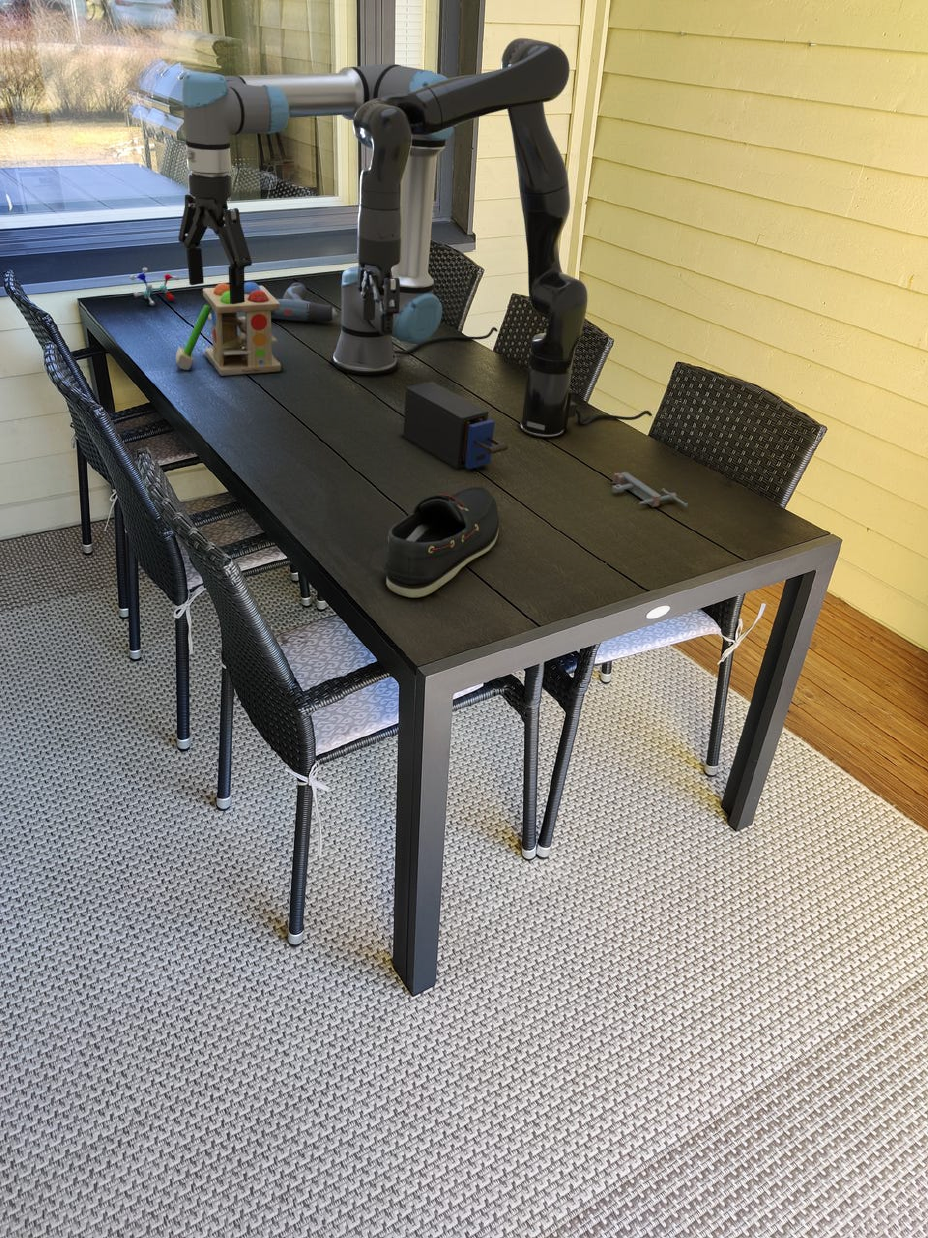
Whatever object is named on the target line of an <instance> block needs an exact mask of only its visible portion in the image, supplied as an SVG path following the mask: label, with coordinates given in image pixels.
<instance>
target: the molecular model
mask: <svg viewBox="0 0 928 1238" xmlns="http://www.w3.org/2000/svg"><path fill="white" fill-rule="evenodd" d="M146 273H148V268H147V267H143V268H142V273H139V275H135V274H134V275H133V274H132V275H130V276H129V278H130V280H132V281H134V280H136V279H139V280H140V281H142V282H143V284H144V285H145V290H143V292H137V291H135V292H134V293H133V296H134V297H135V298H138V297H139V296H140V297H141V296H143V298H144V299H145V300H148V301H149V305H150V306H151V307H152V306H154V305H155V301H153V300H152V298H151V297H150V296H151V294H152V293H153V292H154V291H161V292H163V293H164V294H165V295H166V297H167V299H168V301H170V302H171V301H174V300H175V296H174V295H173V294H171V293H170V291H169V290H168V287H167V283H168V281H170V280H171V279H172V280H175V281H179V280H180V276H179V275H170V274H169V273H165V275H164V283H163V284H161V285H160V286H159V287H153V285H152V284H150V283H149V284H148V282H147V281H146Z"/></svg>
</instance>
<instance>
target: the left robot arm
mask: <svg viewBox="0 0 928 1238" xmlns="http://www.w3.org/2000/svg"><path fill="white" fill-rule="evenodd" d="M446 79H448V78H447V76H444V75H442V74H440V73H436V72H434V71H432V70H429V69H422V68H417V67H412V66H411V67H410V66H405V65H401V64H396V63H380V64H372V65H371V64H370V65H359V66H345V67H342V68H341V69H339V70H338V72H331V73H330V72H328V73H293V74H292V73H291V74H287V73H285V74H283V73H282V74H249V75H247V74H246V75H245V74H244V75H222V74H220V73H213V72H199V71H198V72H197V71H195V72H193V71H192V72H187V73H185V74H184V76H183V77H182V80H181V84H182V85H181V105H182V111H183V113H182V114H183V123H184V125H183V126H184V134H185V135H184V138H185V145H186V147H185V148H186V155H185V157H186V161H187V162H186V164H187V169H188V170H189V171H190V172H189V173H188V174H187V181H188V182H187V183H188V193H189V194H185V195H184V207H183V213H182V217H181V223H180V228H179V233H178V238H177V239H178V242H179V243H182V244H183V246H184V248H185V249H186V258H187V259H186V262H187V270H188V283H189V285H190V286H195V285H196V286H197V285H203V284H205V280H204V268H203V252H202V251H203V250H202V248H201V247H202V245H201V242H202V239H203V238H204V235H205V233H206V230H207V229H208V228H209V229H210V230H212V232H213V233H214V235H217V237H218V239H219V241H220V243H221V245H222V248H223V250H224V253H225V255H226V257H227V260H228V261H229V266H227V267H228V285H229V289H230V303H231V304H237V303H243V302H245V294H244V284H245V283H246V282H245V279H246V278H245V268H247V267H251V266H252V265H253V261H252V258H251V255H250V250H249V248H248V244H247V241H246V237H245V234H244V230H243V227H242V224H241V223H242V222H241V217H240V216H241V215H240V211H239V208H238V207H233V208H229V205H228V199H230V198H231V197H232V195H233V185H232V184H233V181H232V175H230V172H231V171H232V160H231V159H232V158H231V140H230V139H231V138H230V137H231V136H235V135H258V134H259V135H261V134H266V135H270V134H275V133H280V132H282V131H284V130H285V129H286V128H287V126H288V123H289V120H290V119H291V118H292V119H293V118H312V117H313V118H314V117H329V116H332V117H333V116H342V117H343V119H346V120H348V121H353V120H354V116H355V114H356V112H357V111H358V109H359V108H360V107H361V106H362V105H363V104H365V103H366V102H368V101H370V100H373V99H376V98H380V97H385V96H390V95H395V94H402V93H409V92H413V91H416V90H418V89H420V88H423V87H425V86H428V85H431V84H434V83H437V82H440V81H443V80H446ZM457 127H458V125H456V126H453V127H451V128H448V129H445V130H443V131H440V132H437V133H434V134H431V135H427V136H420V135H412V143H411V149H410V153H409V157H408V161H407V165H406V169H405V172H404V176H403V179H402V195H401V215H402V236H401V260H400V263H399V264H397V265H394V266H393V267H392V269H391V270H392V276H393V278H399V280H400V305H399V313H397V314H393V332H392V334H391V335H385V336H383V335H381V334H380V314H381V313H380V309H379V304H378V303H377V302H376V301H375V319H374V320H367V321H366V320H364V319H363V298H362V297H361V292H358V289H357V288H358V265H355V266H351V267H348V268H346V269H345V270H344V271H343V273H342V277H341V278H342V279H341V285H340V288H341V290H340V291H341V293H340V294H341V295H340V296H341V307H340V308H341V310H340V311H341V313H340V314H341V316H340V317H341V319H340V321H341V324H340V325H341V326H340V329H341V330H340V336H339V338H338V341H337V343H336V344H335V347H334V349H335V350H334V352H333V354H332V355H333V361H332V362H333V363H332V364H333V366H334V367H335V368H337V369H338V370H339V371H342V372H344V373H347V374H352V375H356V376H380V375H381V376H382V375H386V374H389V373H391V372H393V371H395V369H396V368H397V361H398V359H397V354H398V355H407V354H410V353H412V352H414V351H415V350H417V349H418V348H420V347H422V346H425V345H428V344H431V343H434V342H437V341H438V342H439V341H445V340H472V341H473V340H478V341H479V340H485V339H488V338H489V337H491V336H492V335H493V333H495V332H496V333H497V332H499V330H498V329H497V328H496V327H495V326H492V327H491V329H490V331H489V332H488V333H487V334H486V335H481V336H480V335H479V336H466V335H447V336H439V337H434V338H431V337H432V336H433V334H434V333H435V332H436V331H437V329H438V327H439V326H440V323H441V321H442V317H443V305H442V302H441V301H440V299H439V298H438V297H437V296H436V294H434V287H435V280H434V279H433V277H432V276H431V275H430V273H429V263H430V251H431V250H430V249H431V239H432V225H433V213H434V199H435V185H436V173H437V161H438V155H439V154H440V153H441V152H442V151H443V150H444V149H446V139H448V138H449V137H451V136H452V134H453V133H454V131H455V130H454V129H456V128H457ZM362 282H363V281H362ZM383 296H384V295H383ZM373 299H375V298H373ZM393 301H394V300H393ZM383 304H384V302H383ZM389 307H390V306H389ZM392 337H393V338H395V339H397V340H398V341H400V342H404V343H405V342H406V343H408V344H412V345H414V346H413V347H411V348H410V349H407V350H395V347H394V343H393V341H392Z"/></svg>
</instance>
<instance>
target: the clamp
mask: <svg viewBox="0 0 928 1238" xmlns="http://www.w3.org/2000/svg"><path fill="white" fill-rule="evenodd" d="M612 477H613V478H612V482H611V484H615V485H612V486H611V491H612V492H613V493H614V494H619V493H623V492H624V491H626V490H628V491H630V492H631V493H632V494H634V495H635V496H637V497H638V498H639V499H641V500H642V501H638V505H639V506H641V505H650V506H651V507H652V508H654V507H659V506H660V502H662V501H666V500H668V501H673V500H675V501H676V502H678V503H679V504H680V505H682V506H683V508H684V509H687V508H688V507H689V503H688V502H684V501H683V500H681V499H680V498H678V496H677V493H676V492H669V491H668V490H666V488H664V487H662V488H661V490H660V492H661V493H662V494H663V493H664V495H661V494H659V493H658V492H657V491H655V490H654V489H652V488H650V487H649V486H648V485H646V484H645V483H643V481H640V480H639V479H638V478H636V477H635V476H633V475H632V474H630V473H629V472H628V471H622V472H615V473H613V476H612Z"/></svg>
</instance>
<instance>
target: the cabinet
mask: <svg viewBox="0 0 928 1238" xmlns="http://www.w3.org/2000/svg"><path fill="white" fill-rule="evenodd" d="M404 398H405V399H404V416H403V417H404V418H403V437H404V438H405V439H407V440H408V441H409V442H411V443H413V444H414V445H416V446H418V447H420V448H421V449H423V450H425V452H426V451H427V452H428V453H430V454H431V455H433V456H435V457H436V458H438V459H440V460H441V461H443V462H445V463H446V464H448V465H449V466H451V467H453V468H454V469H456V470H460V469H463V468H465V462H466V461H465V462H463V461H461V457H462V446H463V435H464V424H465V422H464V421H468V420H472V419H476V418H480V417H481V418H483V421H486V420H489V411H488V410H487V409H485V408H483V407H481V406H479V405H477V404H475V403H474V402H471V401H470V400H468V399H466V398H464V397H462V396H460V395H459V394H456V393H454V392H453V391H451V390H449V389H448V388H446V387H443V386H442V385H439V384H438V383H435V382H434V381H428V382H423V383H419V384H415V385H409V386H406V387H405V397H404Z"/></svg>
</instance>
